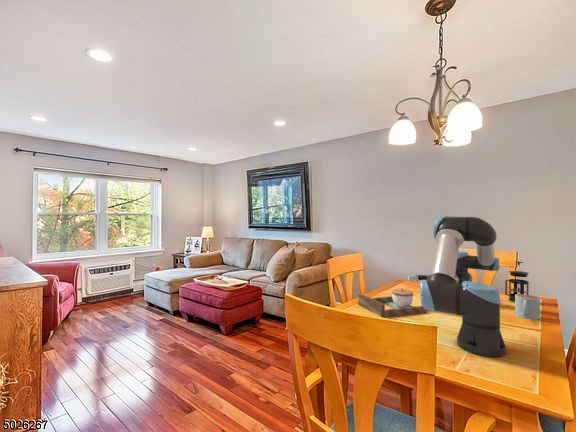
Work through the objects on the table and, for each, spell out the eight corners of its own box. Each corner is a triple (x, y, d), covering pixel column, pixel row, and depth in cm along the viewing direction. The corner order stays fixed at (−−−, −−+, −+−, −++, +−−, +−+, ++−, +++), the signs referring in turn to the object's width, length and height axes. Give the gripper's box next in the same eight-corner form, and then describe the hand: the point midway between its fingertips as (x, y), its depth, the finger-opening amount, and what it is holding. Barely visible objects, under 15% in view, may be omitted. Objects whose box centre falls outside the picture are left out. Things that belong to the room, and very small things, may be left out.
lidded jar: (415, 310, 150) (415, 291, 150) (393, 308, 152) (393, 290, 152) (410, 304, 160) (410, 287, 161) (390, 302, 163) (390, 285, 163)
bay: (397, 300, 168) (397, 290, 168) (425, 312, 148) (425, 300, 148) (358, 304, 160) (358, 293, 160) (381, 317, 140) (382, 304, 140)
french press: (526, 299, 173) (526, 261, 173) (533, 304, 164) (533, 263, 164) (502, 297, 176) (502, 259, 176) (508, 302, 167) (509, 262, 167)
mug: (516, 312, 148) (516, 293, 149) (540, 317, 142) (540, 296, 142) (512, 319, 139) (512, 298, 139) (537, 324, 132) (537, 302, 132)
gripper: (466, 290, 154) (435, 293, 148) (430, 281, 178) (401, 283, 171) (466, 276, 155) (435, 278, 148) (430, 269, 178) (401, 270, 172)
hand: (417, 280), depth 160 cm, fingers open, 13 cm apart
